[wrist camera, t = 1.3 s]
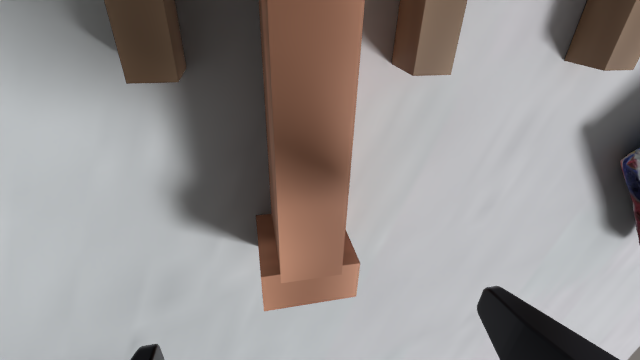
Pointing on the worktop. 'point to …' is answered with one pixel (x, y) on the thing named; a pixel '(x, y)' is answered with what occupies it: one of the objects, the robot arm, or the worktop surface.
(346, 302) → the worktop surface
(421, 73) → the lane rack
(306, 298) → the block
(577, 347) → the robot arm
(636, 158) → the packaged food
